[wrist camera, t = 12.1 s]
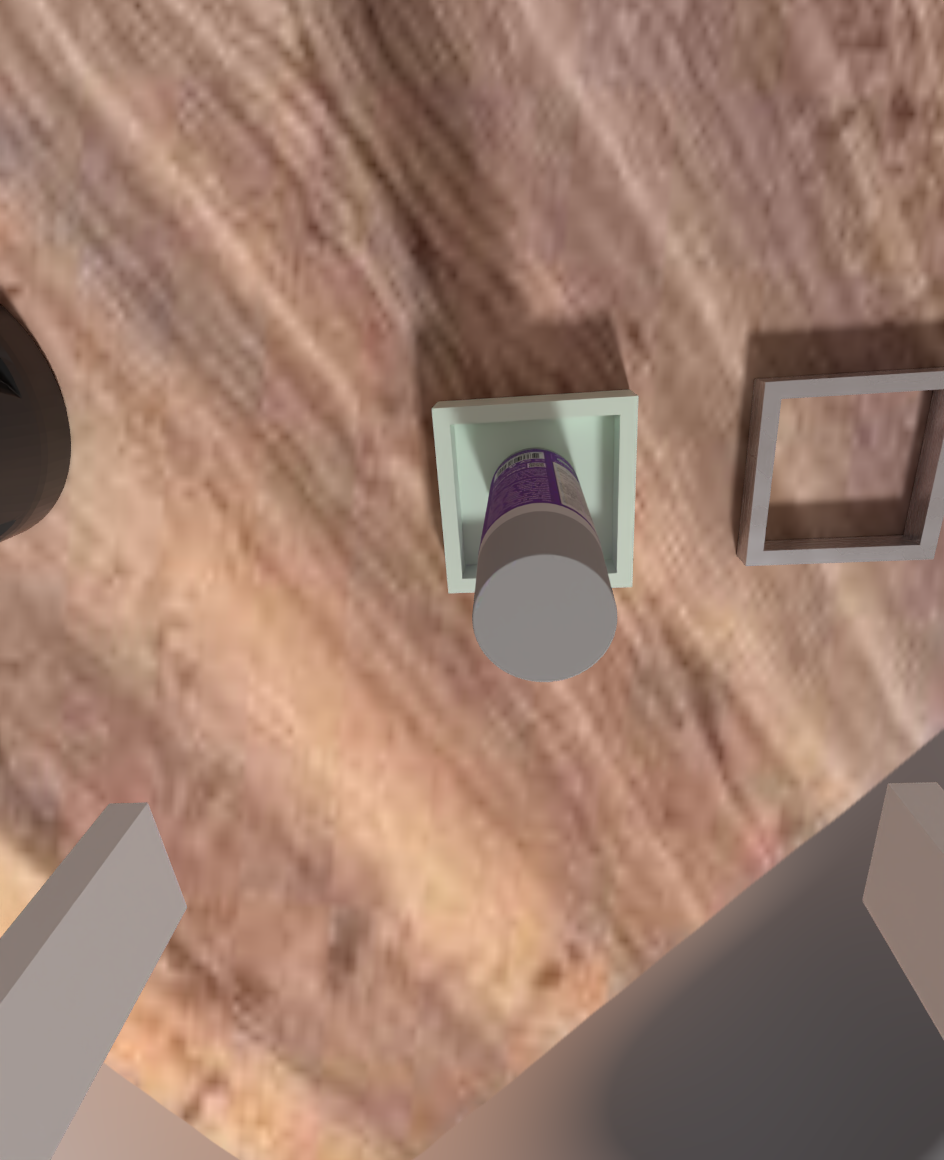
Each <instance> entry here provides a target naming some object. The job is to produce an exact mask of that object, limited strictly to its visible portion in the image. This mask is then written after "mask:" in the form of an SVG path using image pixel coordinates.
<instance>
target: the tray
mask: <svg viewBox="0 0 944 1160" xmlns="http://www.w3.org/2000/svg"><path fill="white" fill-rule="evenodd" d="M432 419H433V430H434V441H435V452H436V463H437V473H438V484H439V495H440V506H441V517H442V528H443V539H444V549H445V560H446V571H447V582H448V593H471V592H475V585H476V575H477V565H478V553H479V547H480V542H481V536H482V531H483V525H484V519H485V514H486V508H487V503H488V497H489V491H490V486H491V482H492V478H493V476H494V473H495V471H496V470H497V468H498V467H499V465H500V464H501V463H502V462H503V461H504V460H505V459H506V458H507V457H508V456H510V455H511V454H513V453H515V452H517V451H519V450H522V449H526V448H545V449H549V450H552V451H554V452H556V453H558V454H560V455H561V456H563V457H564V458H565V459H566V460H567V461H568V462H569V463H570V464H571V466H572V467H573V469H574V471H575V473H576V475H577V477H578V480H579V483H580V486H581V489H582V492H583V494H584V497H585V500H586V503H587V506H588V509H589V512H590V515H591V518H592V521H593V524H594V527H595V530H596V532H597V535H598V538H599V541H600V545H601V548H602V553H603V557H604V560H605V564H606V568H607V572H608V576H609V580H610V584H611V588H618V587H632V577H633V546H634V515H635V485H636V454H637V423H638V395H637V394H635V393H634V392H633V391H631V390H630V389H629V390H613V391H597V392H582V393H566V394H550V395H534V396H518V397H502V398H486V399H470V400H454V401H438V402H437V403H436V404H435V405H434V406H433V408H432Z"/></svg>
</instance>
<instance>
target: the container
mask: <svg viewBox="0 0 944 1160" xmlns="http://www.w3.org/2000/svg"><path fill="white" fill-rule="evenodd" d="M472 621H473V629H474V633H475V636H476V639H477V642H478V644H479V646H480V647H481V649H482V651H483V652H484V654H485V655H486V656H487V657H488V658H489V659H490V660H491V661H492V662H493V663H494V664H495V665H496V666H497V667H499V668H500V669H502V670H503V671H505V672H507V673H509V674H510V675H513V676H515V677H518V678H521V679H525V680H529V681H536V682H553V681H559V680H564V679H568V678H570V677H573V676H576V675H578V674H580V673H582V672H584V671H585V670H587V669H589V668H590V667H591V666H593V665H594V664H595V663H596V662H597V661H598V660H599V659H600V658H601V657H602V656H603V655H604V653H605V652H606V651H607V649H608V647H609V646H610V644H611V642H612V640H613V637H614V634H615V631H616V625H617V608H616V603H615V599H614V595H613V591H612V588H611V584H610V580H609V576H608V572H607V568H606V564H605V560H604V557H603V553H602V548H601V545H600V541H599V538H598V535H597V532H596V530H595V527H594V524H593V521H592V518H591V515H590V512H589V509H588V506H587V503H586V500H585V497H584V494H583V492H582V489H581V486H580V483H579V480H578V477H577V475H576V473H575V471H574V469H573V467H572V466H571V464H570V463H569V462H568V461H567V460H566V459H565V458H564V457H563V456H561V455H560V454H558V453H556V452H554V451H552V450H549V449H545V448H526V449H522V450H519V451H517V452H515V453H513V454H511V455H510V456H508V457H507V458H506V459H505V460H504V461H503V462H502V463H501V464H500V465H499V467H498V468H497V470H496V471H495V473H494V476H493V478H492V482H491V486H490V491H489V497H488V503H487V508H486V514H485V519H484V525H483V531H482V536H481V542H480V547H479V553H478V565H477V575H476V585H475V595H474V605H473V615H472Z"/></svg>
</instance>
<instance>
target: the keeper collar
mask: <svg viewBox="0 0 944 1160" xmlns="http://www.w3.org/2000/svg"><path fill="white" fill-rule="evenodd" d="M921 390H934V391H933V396H932V401H931V405H930V410H929V415H928V420H927V425H926V429H925V434H924V439H923V444H922V449H921V453H920V458H919V463H918V468H917V473H916V477H915V482H914V487H913V492H912V497H911V501H910V506H909V511H908V516H907V521H906V525H905V530H904V535H895V536H870V537H845V538H820V539H795V540H770V541H765V533H766V524H767V516H768V508H769V499H770V491H771V482H772V474H773V465H774V457H775V448H776V440H777V431H778V423H779V414H780V406H781V399H787V398H804V397H821V396H837V395H854V394H871V393H887V392H904V391H921ZM943 516H944V367H935V368H919V369H904V370H888V371H872V372H856V373H840V374H824V375H808V376H793V377H777V378H761V379H754V389H753V399H752V409H751V419H750V429H749V439H748V449H747V458H746V468H745V478H744V488H743V498H742V508H741V518H740V528H739V538H738V548H737V557H738V558H739V559H740V560H741V561H742V562H743V563H744V565H745V566H760V565H787V564H814V563H842V562H869V561H896V560H924V559H934V555H935V550H936V546H937V542H938V538H939V533H940V529H941V525H942V520H943Z"/></svg>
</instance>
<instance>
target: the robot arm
mask: <svg viewBox="0 0 944 1160" xmlns="http://www.w3.org/2000/svg"><path fill="white" fill-rule="evenodd" d="M70 456H71V438H70V428H69V422H68V417H67V412H66V408H65V405H64V401H63V398H62V395H61V392H60V390H59V387H58V385H57V382H56V380H55V378H54V376H53V374H52V372H51V370H50V368H49V366H48V364H47V362H46V360H45V359H44V357H43V355H42V354H41V352H40V351H39V349H38V348H37V346H36V345H35V343H34V342H33V340H32V339H31V338H30V336H29V335H28V334H27V332H26V331H25V330H24V329H23V327H22V326H21V325H20V324H19V323H18V322H17V321H16V319H15V318H14V317H13V316H12V315H11V314H10V313H9V312H8V311H7V310H6V309H5V308H4V307H3V306H2V305H0V542H2V541H4V540H6V539H8V538H11V537H13V536H15V535H17V534H20V533H22V532H24V531H26V530H28V529H29V528H31V527H32V526H34V525H35V524H37V523H38V522H39V521H40V520H42V519H43V518H44V517H45V516H46V515H47V514H48V513H49V511H50V510H51V509H52V508H53V506H54V505H55V503H56V502H57V500H58V498H59V496H60V494H61V492H62V490H63V488H64V485H65V482H66V479H67V475H68V471H69V465H70ZM862 901H863V903H864V904H865V906H866V908H867V909H868V911H869V913H870V915H871V916H872V918H873V919H874V921H875V923H876V925H877V927H878V928H879V930H880V932H881V933H882V935H883V937H884V939H885V940H886V942H887V944H888V945H889V947H890V949H891V950H892V952H893V954H894V956H895V957H896V959H897V961H898V963H899V964H900V966H901V967H902V969H903V971H904V973H905V974H906V976H907V978H908V980H909V981H910V983H911V984H912V986H913V988H914V990H915V992H916V993H917V995H918V996H919V998H920V1000H921V1002H922V1004H923V1005H924V1007H925V1009H926V1010H927V1012H928V1014H929V1015H930V1017H931V1019H932V1021H933V1022H934V1024H935V1026H936V1027H937V1029H938V1031H939V1033H940V1034H941V1036H942V1038H943V1040H944V790H943V789H942V788H941V787H940V786H939V785H938V784H937V783H935V782H932V783H894V784H888V787H887V791H886V796H885V800H884V805H883V809H882V814H881V818H880V823H879V827H878V832H877V836H876V841H875V846H874V850H873V855H872V859H871V864H870V868H869V873H868V877H867V883H866V886H865V891H864V895H863V900H862ZM186 909H187V906H186V903H185V900H184V898H183V895H182V892H181V890H180V887H179V884H178V882H177V879H176V876H175V874H174V871H173V868H172V866H171V863H170V860H169V858H168V855H167V852H166V850H165V847H164V844H163V842H162V839H161V836H160V834H159V831H158V828H157V826H156V823H155V820H154V818H153V815H152V812H151V810H150V807H149V804H148V803H115V804H109V805H108V806H107V807H106V808H105V810H104V811H103V812H102V813H101V814H100V816H99V817H98V818H97V819H96V821H95V822H94V823H93V824H92V826H91V827H90V828H89V829H88V831H87V832H86V833H85V834H84V835H83V837H82V838H81V839H80V840H79V842H78V843H77V844H76V845H75V847H74V848H73V849H72V850H71V852H70V853H69V854H68V855H67V856H66V858H65V859H64V860H63V861H62V863H61V864H60V865H59V866H58V868H57V869H56V870H55V871H54V873H53V874H52V875H51V876H50V878H49V879H48V880H47V881H46V882H45V884H44V885H43V886H42V887H41V889H40V890H39V891H38V892H37V894H36V895H35V896H34V897H33V899H32V900H31V901H30V902H29V903H28V905H27V906H26V907H25V908H24V910H23V911H22V912H21V913H20V915H19V916H18V917H17V918H16V920H15V921H14V922H13V923H12V924H11V926H10V927H9V928H8V929H7V931H6V932H5V933H4V934H3V936H2V937H1V938H0V1160H51V1158H52V1156H53V1154H54V1153H55V1151H56V1149H57V1147H58V1145H59V1143H60V1141H61V1139H62V1138H63V1136H64V1134H65V1132H66V1130H67V1129H68V1127H69V1125H70V1123H71V1121H72V1119H73V1117H74V1116H75V1114H76V1112H77V1110H78V1108H79V1106H80V1104H81V1102H82V1100H83V1099H84V1097H85V1095H86V1093H87V1092H88V1090H89V1087H90V1086H91V1084H92V1082H93V1080H94V1078H95V1077H96V1075H97V1073H98V1071H99V1069H100V1068H101V1066H102V1064H103V1062H104V1060H105V1058H106V1056H107V1055H108V1053H109V1051H110V1049H111V1047H112V1045H113V1043H114V1042H115V1040H116V1038H117V1036H118V1034H119V1032H120V1031H121V1029H122V1027H123V1025H124V1023H125V1021H126V1019H127V1018H128V1016H129V1014H130V1012H131V1010H132V1008H133V1006H134V1005H135V1003H136V1001H137V999H138V997H139V995H140V994H141V992H142V990H143V988H144V986H145V984H146V982H147V981H148V979H149V977H150V975H151V973H152V971H153V970H154V968H155V966H156V964H157V962H158V960H159V958H160V957H161V955H162V953H163V951H164V949H165V947H166V945H167V944H168V942H169V940H170V938H171V936H172V934H173V933H174V931H175V929H176V927H177V925H178V923H179V921H180V920H181V918H182V916H183V914H184V912H185V910H186Z"/></svg>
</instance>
